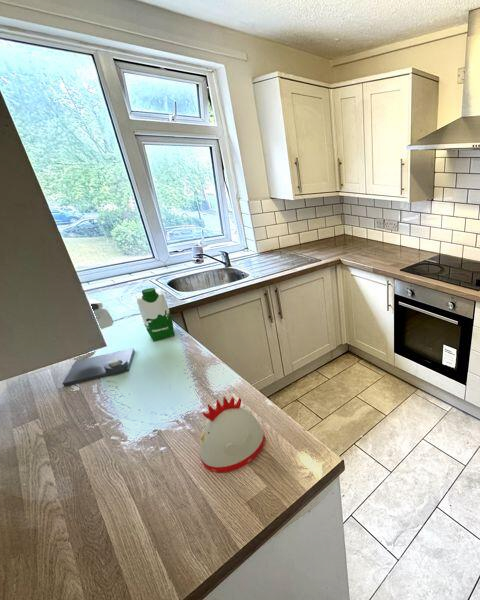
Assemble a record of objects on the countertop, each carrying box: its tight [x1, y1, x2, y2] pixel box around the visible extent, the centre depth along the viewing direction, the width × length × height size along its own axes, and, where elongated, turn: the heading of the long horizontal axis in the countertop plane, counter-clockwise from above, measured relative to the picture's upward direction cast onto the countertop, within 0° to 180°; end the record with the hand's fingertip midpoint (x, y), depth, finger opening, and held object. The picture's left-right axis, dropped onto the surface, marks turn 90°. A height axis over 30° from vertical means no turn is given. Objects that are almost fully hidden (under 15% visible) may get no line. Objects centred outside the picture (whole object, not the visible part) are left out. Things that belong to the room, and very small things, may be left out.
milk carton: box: [135, 287, 175, 343], centre depth 126 cm, size 9×9×20 cm
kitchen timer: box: [199, 396, 265, 473], centre depth 77 cm, size 14×14×15 cm
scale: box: [62, 347, 136, 388], centre depth 109 cm, size 16×15×3 cm
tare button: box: [109, 358, 121, 367], centre depth 107 cm, size 3×3×2 cm
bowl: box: [72, 350, 97, 361], centre depth 107 cm, size 6×6×5 cm
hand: (81, 348), depth 107 cm, fingers closed on bowl, 6 cm apart
